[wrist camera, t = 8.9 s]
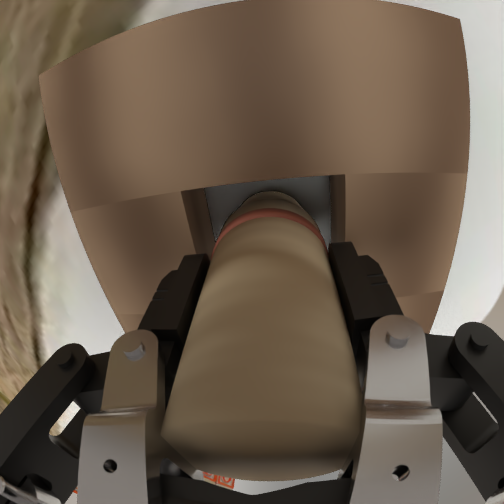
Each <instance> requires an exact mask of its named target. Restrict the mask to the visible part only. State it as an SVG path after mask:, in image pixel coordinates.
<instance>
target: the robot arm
mask: <svg viewBox="0 0 504 504" xmlns="http://www.w3.org/2000/svg"><path fill="white" fill-rule="evenodd" d="M328 259H329V262H330V266H331V269H332V272H333V276H334V279H335V283H336V287H337V290H338V294H339V297H340V301H341V305H342V309H343V313H344V316H345V320H346V324H347V328H348V332H349V336H350V341H351V345H352V349H353V353H354V358H355V362H356V367H357V371H358V376H359V381H360V386H361V391H362V409H361V423H360V433H359V435H358V437H357V439H356V441H355V443H354V445H353V447H352V449H351V451H350V453H349V455H348V457H347V459H346V461H345V463H344V465H343V466H342V468H341V469H340V470H339V474H338V478H337V480H329V481H319V482H307V483H304V484H300V485H296V486H293V487H289V488H285V489H281V490H277V491H273V492H268V493H263V494H258V495H248V494H244V493H240V492H237V491H233V490H230V489H227V488H224V487H220V486H217V485H214V484H211V483H208V482H206V481H204V476H203V472H202V471H200V470H197V469H196V468H195V467H194V466H192V465H191V464H190V463H189V462H188V461H187V460H186V459H185V458H184V457H183V456H181V455H180V454H179V453H178V452H177V451H176V450H175V449H174V448H173V447H172V446H171V445H170V444H169V443H168V442H167V441H166V440H165V439H164V438H163V437H162V436H161V429H162V424H163V420H164V416H165V413H166V409H167V405H168V402H169V398H170V394H171V391H172V387H173V384H174V380H175V377H176V373H177V370H178V366H179V363H180V359H181V356H182V353H183V349H184V346H185V343H186V339H187V336H188V333H189V329H190V326H191V323H192V320H193V316H194V313H195V310H196V307H197V303H198V300H199V297H200V294H201V291H202V288H203V285H204V282H205V278H206V275H207V272H208V269H209V266H210V260H209V257H208V255H207V254H206V253H203V254H191V255H185V256H184V257H183V259H182V261H181V263H180V265H179V267H178V270H172V271H170V272H169V273H168V274H167V275H166V276H165V277H164V278H163V279H162V280H161V282H160V284H159V286H158V288H157V290H156V291H157V292H155V294H154V296H153V298H152V301H151V302H150V304H149V306H148V308H147V310H146V312H145V314H144V316H143V318H142V320H141V322H140V324H139V327H138V329H137V330H134V331H130V332H128V333H126V334H124V335H122V336H121V337H120V338H118V339H117V340H116V342H115V343H114V344H113V346H112V348H111V351H110V352H105V353H100V354H95V355H90V356H89V354H88V353H87V351H86V350H85V349H84V347H83V346H82V345H80V344H76V343H72V344H67V345H65V346H63V347H61V348H60V349H58V350H57V351H56V352H55V353H54V354H53V355H52V356H51V357H50V358H49V359H48V360H47V362H46V363H45V364H44V365H43V366H42V367H41V368H40V369H39V370H38V371H37V373H36V374H35V375H34V376H33V377H32V378H31V379H30V380H29V381H28V383H27V384H26V385H25V386H24V387H23V388H22V389H21V391H20V392H19V393H18V394H17V395H16V396H15V398H14V399H13V400H12V401H11V402H10V404H9V405H8V406H7V407H6V408H5V410H4V411H3V412H2V413H1V414H0V504H65V502H66V501H67V499H68V498H69V497H70V495H71V494H72V492H73V491H74V490H75V488H76V487H77V486H78V490H77V504H438V498H439V491H440V481H441V467H442V440H443V439H442V438H443V437H444V438H445V440H446V441H447V443H448V444H449V446H450V447H451V449H452V450H453V452H454V453H455V455H456V456H457V458H458V459H459V461H460V462H461V464H462V465H463V467H464V468H465V470H466V471H467V473H468V474H469V476H470V477H471V479H472V480H473V482H474V484H475V485H476V487H477V488H478V490H479V492H480V493H481V495H482V496H483V498H484V499H485V501H486V503H485V504H504V341H503V340H502V339H501V338H500V337H499V336H498V335H497V334H496V333H495V332H494V331H493V330H492V329H491V328H489V327H488V326H486V325H484V324H482V323H478V322H468V323H465V324H463V325H461V326H460V327H459V328H458V329H457V331H456V334H455V336H442V335H432V334H427V333H424V331H423V329H422V327H421V326H420V325H419V324H418V323H417V322H416V321H414V320H413V319H411V318H409V317H406V316H404V314H403V312H402V310H401V308H400V305H399V303H398V301H397V299H396V297H395V295H394V293H393V291H392V289H391V287H390V285H389V284H388V281H387V279H386V277H385V275H384V273H383V271H382V269H381V267H380V265H379V263H378V262H376V261H375V260H374V259H372V258H371V257H370V256H369V255H361V256H358V254H357V252H356V250H355V247H354V245H353V243H352V242H351V241H349V242H337V243H329V248H328ZM473 392H475V393H476V395H477V396H478V397H479V398H480V400H481V401H482V402H483V403H484V404H485V405H486V407H487V408H488V410H489V411H490V412H491V414H492V415H493V416H494V417H495V419H496V420H497V422H498V424H497V423H496V422H495V421H494V420H493V419H492V418H491V416H490V415H489V414H488V412H487V411H486V410H485V408H484V407H483V406H482V405H481V403H480V402H479V401H478V400H477V399H476V397H475V396H474V395H473ZM72 401H74V402H75V403H76V404H77V405H78V406H79V407H80V408H81V409H80V410H79V411H78V413H77V414H76V415H75V416H74V418H73V419H72V420H71V421H70V423H69V424H68V425H67V426H66V428H65V429H64V430H63V431H62V433H61V434H59V435H57V436H52V435H50V434H49V431H50V429H51V427H52V426H53V425H54V424H55V422H56V421H57V420H58V419H59V417H60V416H61V415H62V414H63V412H64V411H65V410H66V409H67V408H68V406H69V405H70V404H71V403H72ZM398 478H399V481H397V479H398Z"/></svg>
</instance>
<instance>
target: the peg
mask: <svg viewBox="0 0 504 504" xmlns="http://www.w3.org/2000/svg"><path fill="white" fill-rule="evenodd" d="M361 409H362V391H361V386H360V381H359V376H358V371H357V367H356V362H355V358H354V353H353V349H352V345H351V341H350V336H349V332H348V328H347V324H346V320H345V316H344V313H343V309H342V305H341V301H340V297H339V294H338V290H337V287H336V283H335V279H334V276H333V272H332V269H331V266H330V262H329V259H328V250H327V247H326V244H325V241H324V239H323V237H322V235H321V233H320V230H319V228H318V225H317V224H316V222H315V220H314V219H313V218H312V217H311V215H310V214H309V213H307V212H306V211H305V210H304V209H302V207H301V206H300V204H299V203H298V202H297V201H296V200H295V199H293V198H292V197H290V196H288V195H286V194H284V193H281V192H275V191H266V192H261V193H257V194H255V195H253V196H251V197H250V198H248V199H247V200H246V201H245V202H244V203H243V204H242V205H241V206H240V208H238V209H237V210H236V211H235V212H233V213H232V214H231V216H230V217H229V218H228V219H227V221H226V222H225V224H224V226H223V228H222V230H221V233H220V235H219V237H218V239H217V241H216V244H215V246H214V249H213V253H212V256H211V263H210V266H209V269H208V272H207V275H206V278H205V282H204V285H203V288H202V291H201V294H200V297H199V300H198V303H197V307H196V310H195V313H194V316H193V320H192V323H191V326H190V329H189V333H188V336H187V339H186V343H185V346H184V349H183V353H182V356H181V359H180V363H179V366H178V370H177V373H176V377H175V380H174V384H173V387H172V391H171V394H170V398H169V402H168V405H167V409H166V413H165V416H164V420H163V424H162V429H161V436H162V437H163V438H164V439H165V440H166V441H167V442H168V443H169V444H170V445H171V446H172V447H173V448H174V449H175V450H176V451H177V452H178V453H179V454H180V455H181V456H183V457H184V458H185V459H186V460H187V461H188V462H189V463H190V464H191V465H192V466H194V467H195V468H196V469H197V470H200V471H203V472H206V473H210V474H214V475H218V476H222V477H228V478H234V479H241V480H251V481H287V480H297V479H305V478H311V477H315V476H320V475H324V474H328V473H331V472H334V471H337V470H340V469H341V468H342V466H343V465H344V463H345V461H346V459H347V457H348V455H349V453H350V451H351V449H352V447H353V445H354V443H355V441H356V439H357V437H358V435H359V433H360V423H361Z"/></svg>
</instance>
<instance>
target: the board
mask: <svg viewBox="0 0 504 504" xmlns="http://www.w3.org/2000/svg"><path fill="white" fill-rule="evenodd" d="M39 84H40V91H41V98H42V104H43V109H44V115H45V120H46V125H47V130H48V134H49V139H50V143H51V147H52V151H53V155H54V159H55V163H56V167H57V170H58V174H59V177H60V181H61V184H62V187H63V190H64V194H65V197H66V200H67V203H68V206H69V209H70V212H71V214H72V217H73V220H74V223H75V225H76V228H77V231H78V233H79V236H80V238H81V241H82V243H83V246H84V248H85V251H86V253H87V256H88V258H89V260H90V263H91V265H92V267H93V269H94V272H95V274H96V276H97V278H98V280H99V283H100V285H101V287H102V289H103V291H104V293H105V295H106V297H107V299H108V301H109V303H110V305H111V307H112V309H113V311H114V313H115V315H116V317H117V319H118V321H119V322H120V324H121V326H122V328H123V330H124V332H125V333H128V332H130V331H134V330H137V329H138V327H139V324H140V322H141V320H142V318H143V316H144V314H145V312H146V310H147V308H148V306H149V304H150V302H151V301H152V298H153V296H154V294H155V292H157V291H156V290H157V288H158V286H159V284H160V282H161V280H162V279H163V278H164V277H165V276H166V275H167V274H168V273H169V272H170V271H172V270H178V267H179V265H180V263H181V261H182V259H183V257H184V256H185V255H191V254H203V253H206V254H207V255H208V257H209V260H210V263H211V256H212V253H213V249H214V246H215V244H216V243H215V239H214V234H213V230H212V225H211V220H210V216H209V211H208V206H207V201H206V196H205V192H204V188H205V187H212V186H220V185H228V184H236V183H245V182H254V181H264V180H274V179H285V178H297V177H310V176H324V175H330V199H331V243H337V242H349V241H351V242H352V243H353V245H354V247H355V250H356V252H357V254H358V256H361V255H369V256H370V257H371V258H372V259H374V260H375V261H376V262H378V263H379V265H380V267H381V269H382V271H383V273H384V275H385V277H386V279H387V281H388V284H389V285H390V287H391V289H392V291H393V293H394V295H395V297H396V299H397V301H398V303H399V305H400V308H401V310H402V312H403V314H404V316H406V317H409V318H411V319H413V320H414V321H416V322H417V323H418V324H419V325H420V326H421V327H422V329H423V331H424V333H427V334H429V333H430V330H431V327H432V325H433V322H434V319H435V316H436V314H437V311H438V308H439V305H440V302H441V298H442V295H443V292H444V289H445V285H446V282H447V278H448V275H449V271H450V267H451V264H452V260H453V256H454V251H455V247H456V242H457V238H458V233H459V228H460V222H461V217H462V211H463V205H464V198H465V190H466V182H467V172H468V160H469V143H470V97H469V81H468V69H467V60H466V52H465V45H464V39H463V33H462V28H461V23H460V19H457V18H454V17H451V16H448V15H445V14H441V13H437V12H434V11H430V10H426V9H422V8H417V7H413V6H408V5H403V4H398V3H392V2H386V1H379V0H244V1H237V2H231V3H225V4H219V5H214V6H209V7H204V8H200V9H195V10H191V11H187V12H183V13H180V14H176V15H172V16H169V17H166V18H162V19H159V20H156V21H153V22H150V23H147V24H144V25H141V26H138V27H136V28H133V29H130V30H128V31H125V32H122V33H120V34H118V35H115V36H113V37H110V38H108V39H106V40H104V41H101V42H99V43H97V44H95V45H93V46H91V47H89V48H87V49H85V50H83V51H81V52H79V53H77V54H75V55H73V56H71V57H69V58H67V59H66V60H64V61H62V62H60V63H58V64H57V65H55V66H53V67H52V68H50V69H48V70H47V71H45V72H44V73H42V74H40V75H39Z"/></svg>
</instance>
